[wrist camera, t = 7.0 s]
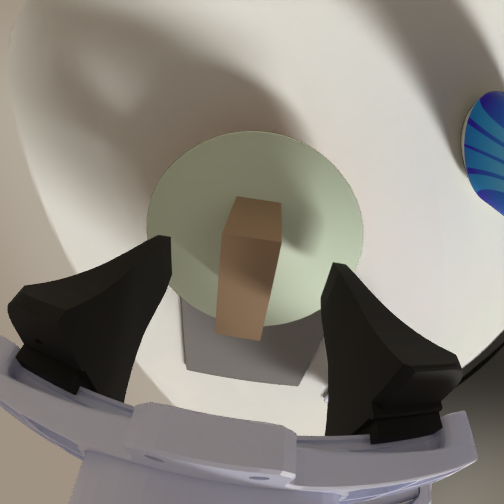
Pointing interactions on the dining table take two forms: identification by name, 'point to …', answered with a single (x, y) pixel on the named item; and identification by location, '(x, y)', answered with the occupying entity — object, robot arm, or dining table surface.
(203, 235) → the lid
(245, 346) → the mat
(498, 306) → the dining table surface
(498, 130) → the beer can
